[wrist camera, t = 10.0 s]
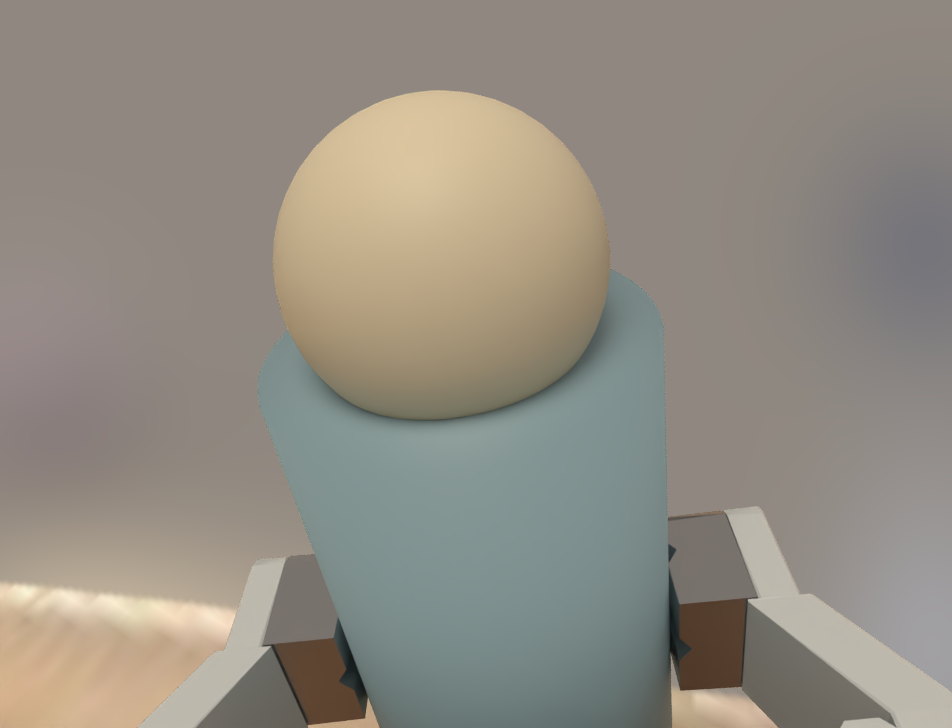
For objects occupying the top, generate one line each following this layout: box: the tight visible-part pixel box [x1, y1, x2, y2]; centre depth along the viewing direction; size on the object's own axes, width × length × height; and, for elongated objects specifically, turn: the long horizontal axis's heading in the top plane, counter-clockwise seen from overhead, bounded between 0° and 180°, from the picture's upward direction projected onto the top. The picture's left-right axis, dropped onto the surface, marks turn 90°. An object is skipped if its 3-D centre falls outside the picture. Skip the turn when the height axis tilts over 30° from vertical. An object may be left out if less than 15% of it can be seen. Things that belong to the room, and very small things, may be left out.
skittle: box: [257, 90, 672, 728], centre depth 11 cm, size 4×4×14 cm
